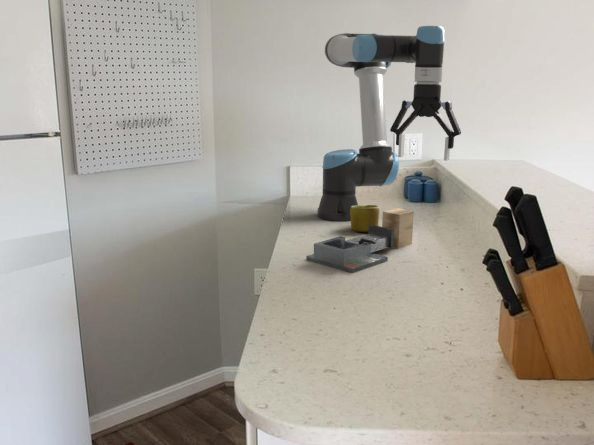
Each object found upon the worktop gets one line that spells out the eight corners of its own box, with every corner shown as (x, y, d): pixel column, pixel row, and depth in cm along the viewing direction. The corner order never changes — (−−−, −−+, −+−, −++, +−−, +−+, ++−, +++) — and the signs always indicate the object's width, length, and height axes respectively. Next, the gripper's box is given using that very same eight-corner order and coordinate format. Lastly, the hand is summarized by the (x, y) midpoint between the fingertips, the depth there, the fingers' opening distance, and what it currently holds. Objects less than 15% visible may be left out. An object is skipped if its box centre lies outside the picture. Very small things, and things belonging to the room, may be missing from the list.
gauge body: (306, 259, 159) (306, 241, 158) (342, 248, 170) (342, 231, 169) (352, 273, 148) (352, 253, 147) (387, 260, 159) (388, 242, 158)
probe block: (381, 244, 175) (382, 211, 172) (395, 240, 180) (396, 208, 177) (398, 248, 171) (399, 214, 168) (411, 243, 176) (413, 211, 173)
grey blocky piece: (341, 250, 163) (341, 232, 162) (370, 241, 172) (371, 224, 171) (372, 258, 156) (373, 239, 155) (401, 249, 165) (402, 231, 164)
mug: (383, 230, 184) (375, 199, 184) (351, 238, 186) (343, 207, 187) (387, 228, 196) (379, 199, 196) (357, 235, 198) (350, 207, 199)
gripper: (381, 83, 170) (378, 156, 175) (469, 84, 158) (463, 163, 163) (390, 82, 176) (387, 153, 181) (475, 83, 164) (469, 159, 169)
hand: (423, 158), depth 172 cm, fingers open, 13 cm apart
